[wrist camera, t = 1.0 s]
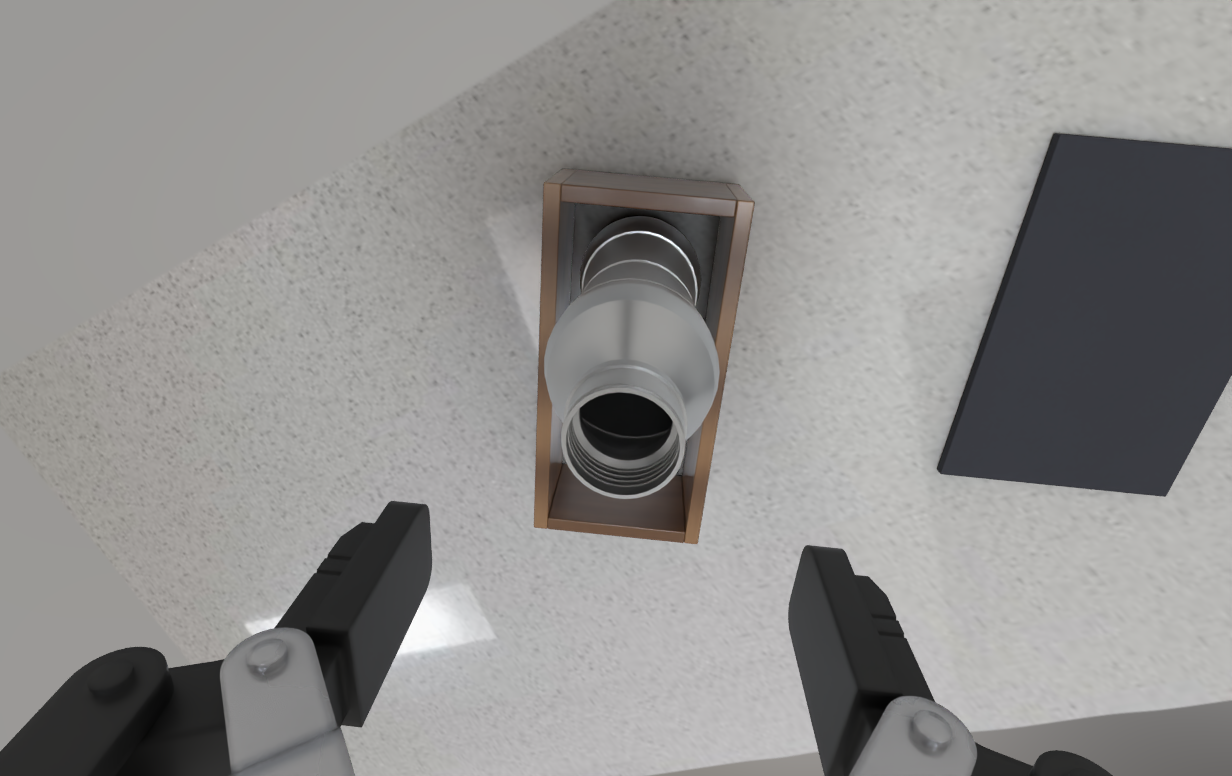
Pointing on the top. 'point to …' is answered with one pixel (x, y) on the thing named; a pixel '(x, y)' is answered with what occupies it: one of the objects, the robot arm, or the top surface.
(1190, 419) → the mat
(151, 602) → the top surface
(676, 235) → the plastic bottle
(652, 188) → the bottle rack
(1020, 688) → the top surface
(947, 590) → the top surface
